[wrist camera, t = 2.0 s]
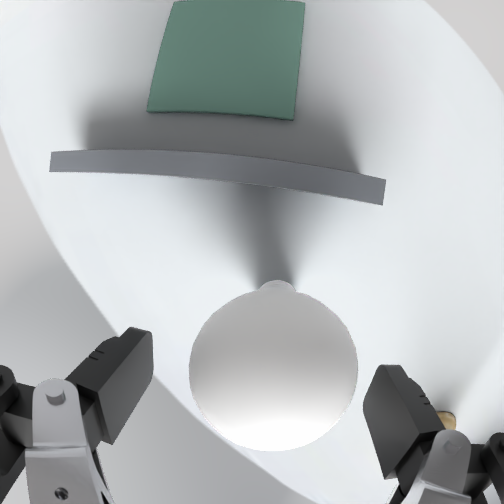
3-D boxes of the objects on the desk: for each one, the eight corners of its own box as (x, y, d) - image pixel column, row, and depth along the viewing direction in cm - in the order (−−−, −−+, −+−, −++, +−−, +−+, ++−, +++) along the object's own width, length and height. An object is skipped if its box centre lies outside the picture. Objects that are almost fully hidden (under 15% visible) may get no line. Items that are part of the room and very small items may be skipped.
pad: (304, 5, 13) (304, 2, 13) (292, 120, 15) (293, 119, 15) (175, 4, 14) (174, 2, 13) (149, 112, 16) (146, 111, 15)
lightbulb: (236, 236, 17) (168, 315, 6) (337, 257, 17) (413, 358, 6) (221, 327, 18) (165, 459, 8) (311, 345, 18) (332, 486, 7)
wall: (362, 181, 16) (386, 179, 12) (359, 201, 16) (382, 205, 12) (88, 155, 17) (51, 152, 13) (87, 172, 17) (49, 172, 13)
